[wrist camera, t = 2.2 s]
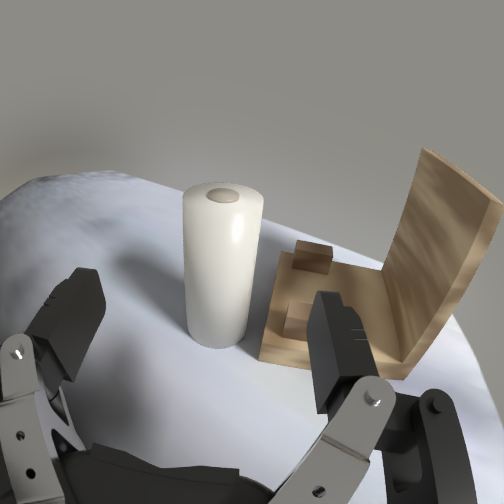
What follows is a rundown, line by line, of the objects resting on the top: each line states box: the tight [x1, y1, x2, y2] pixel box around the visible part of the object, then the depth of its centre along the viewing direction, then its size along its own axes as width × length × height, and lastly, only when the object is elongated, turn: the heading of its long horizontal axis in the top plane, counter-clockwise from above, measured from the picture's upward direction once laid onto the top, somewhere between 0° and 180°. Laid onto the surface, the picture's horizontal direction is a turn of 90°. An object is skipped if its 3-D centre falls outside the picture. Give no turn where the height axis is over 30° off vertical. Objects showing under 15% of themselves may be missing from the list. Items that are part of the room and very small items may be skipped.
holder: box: [258, 148, 504, 380], centre depth 25 cm, size 14×14×18 cm
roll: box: [183, 182, 264, 349], centre depth 24 cm, size 6×6×13 cm
